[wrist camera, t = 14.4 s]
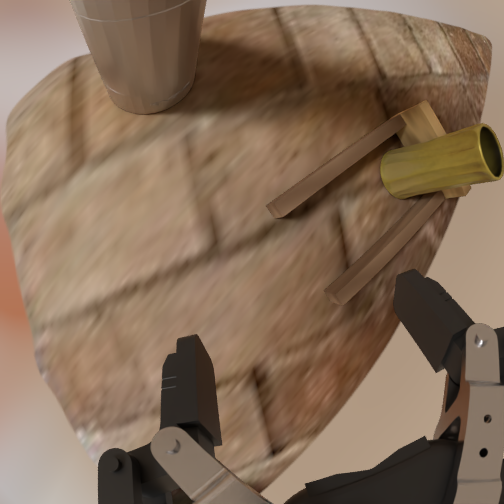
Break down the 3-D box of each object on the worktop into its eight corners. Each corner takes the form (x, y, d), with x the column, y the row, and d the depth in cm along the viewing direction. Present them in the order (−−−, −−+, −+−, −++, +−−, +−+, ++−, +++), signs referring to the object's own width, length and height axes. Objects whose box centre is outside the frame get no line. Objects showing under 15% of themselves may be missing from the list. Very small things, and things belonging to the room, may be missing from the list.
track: (265, 205, 28) (287, 197, 22) (395, 114, 31) (426, 99, 25) (330, 301, 30) (362, 314, 24) (438, 192, 33) (471, 188, 27)
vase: (410, 152, 32) (498, 125, 18) (417, 199, 32) (510, 187, 18) (375, 148, 30) (468, 111, 17) (382, 199, 31) (483, 182, 17)
